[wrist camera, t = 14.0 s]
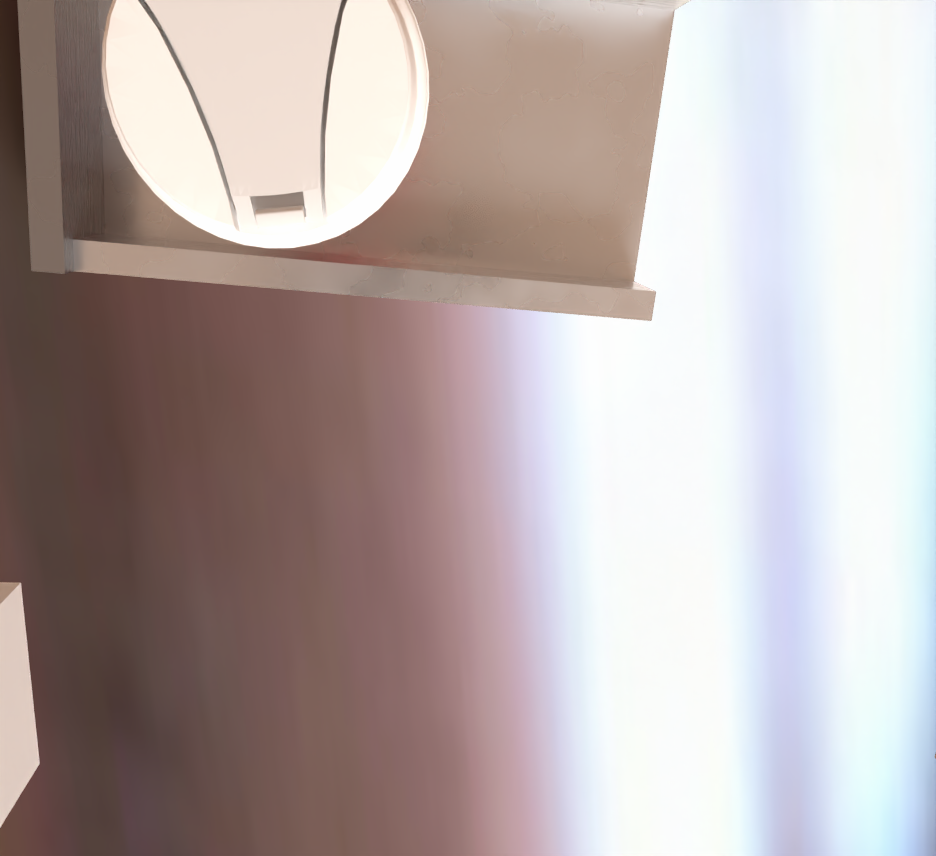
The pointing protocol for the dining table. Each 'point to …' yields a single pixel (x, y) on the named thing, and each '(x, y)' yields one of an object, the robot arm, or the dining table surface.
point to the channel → (425, 185)
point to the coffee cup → (268, 110)
